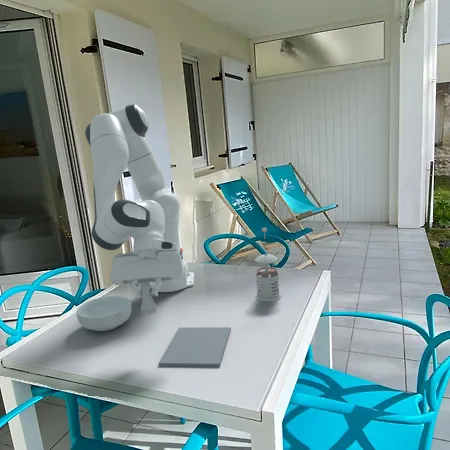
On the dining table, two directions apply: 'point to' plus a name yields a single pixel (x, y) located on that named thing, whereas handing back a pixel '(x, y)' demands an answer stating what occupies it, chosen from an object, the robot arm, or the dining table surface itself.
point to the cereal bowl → (104, 313)
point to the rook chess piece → (147, 299)
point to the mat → (196, 347)
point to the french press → (267, 278)
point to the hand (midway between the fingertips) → (146, 296)
